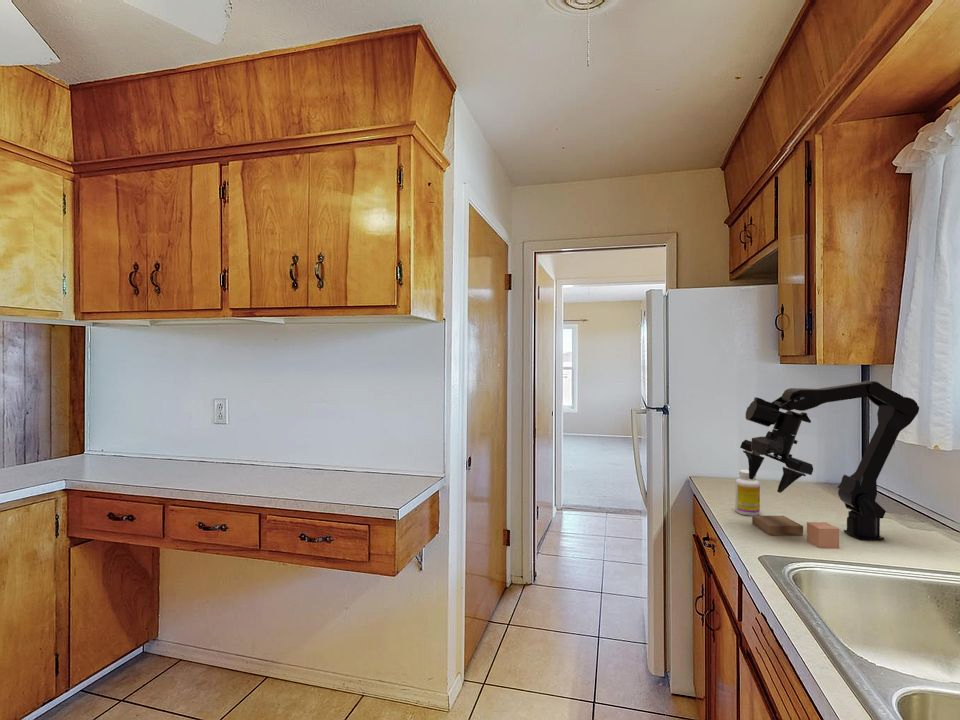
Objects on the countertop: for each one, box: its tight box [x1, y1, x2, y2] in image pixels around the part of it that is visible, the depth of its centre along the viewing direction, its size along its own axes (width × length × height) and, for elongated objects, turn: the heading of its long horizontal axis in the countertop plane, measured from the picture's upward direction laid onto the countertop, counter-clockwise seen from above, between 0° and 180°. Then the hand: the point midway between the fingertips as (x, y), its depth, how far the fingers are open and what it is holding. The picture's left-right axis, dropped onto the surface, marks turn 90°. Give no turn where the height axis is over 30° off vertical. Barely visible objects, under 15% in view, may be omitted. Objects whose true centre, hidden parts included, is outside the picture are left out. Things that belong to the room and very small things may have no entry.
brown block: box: [751, 515, 804, 536], centre depth 144 cm, size 9×9×2 cm
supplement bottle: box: [735, 469, 761, 517], centre depth 159 cm, size 7×7×13 cm
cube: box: [806, 521, 840, 549], centre depth 133 cm, size 5×5×5 cm
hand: (764, 485), depth 143 cm, fingers open, 9 cm apart
